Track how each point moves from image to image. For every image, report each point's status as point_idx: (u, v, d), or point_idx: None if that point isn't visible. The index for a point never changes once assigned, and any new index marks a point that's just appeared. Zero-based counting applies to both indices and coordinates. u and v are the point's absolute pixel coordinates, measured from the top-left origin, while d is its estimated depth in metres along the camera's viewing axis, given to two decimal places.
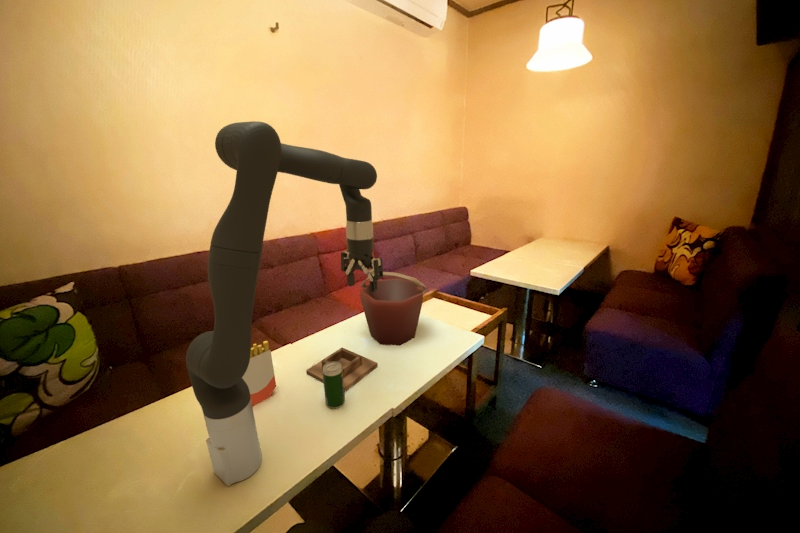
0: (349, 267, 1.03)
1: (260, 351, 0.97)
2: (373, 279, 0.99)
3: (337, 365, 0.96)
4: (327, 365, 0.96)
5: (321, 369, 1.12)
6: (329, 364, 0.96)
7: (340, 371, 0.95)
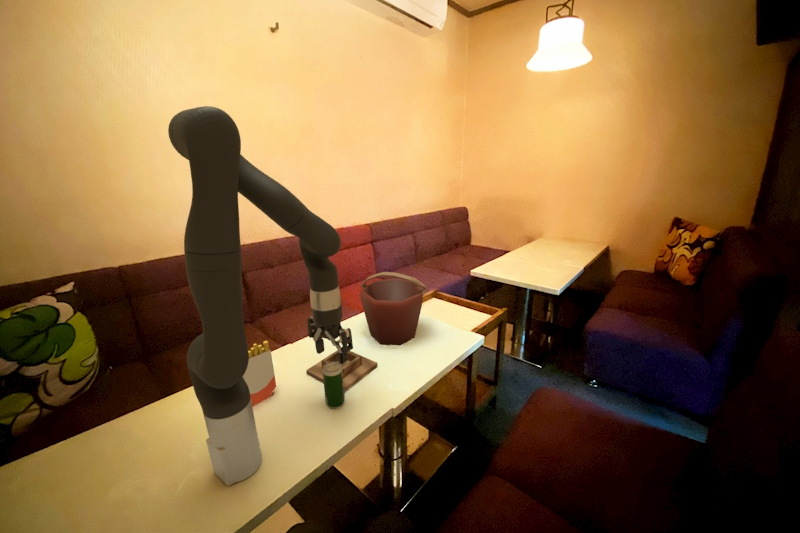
0: (316, 335, 0.93)
1: (260, 351, 0.97)
2: (342, 351, 0.89)
3: (337, 365, 0.96)
4: (327, 365, 0.96)
5: (321, 369, 1.12)
6: (329, 364, 0.96)
7: (340, 371, 0.95)
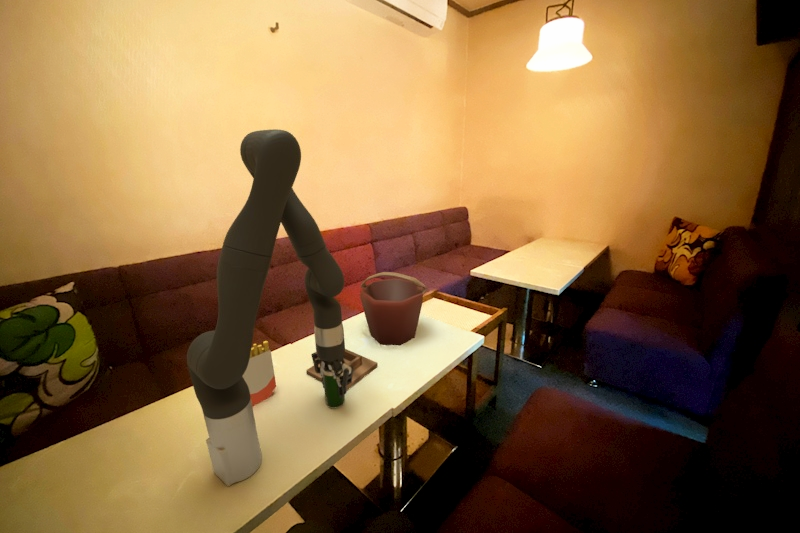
0: (321, 370, 0.96)
1: (260, 351, 0.97)
2: (341, 385, 0.94)
3: None
4: None
5: None
6: None
7: (340, 371, 0.95)
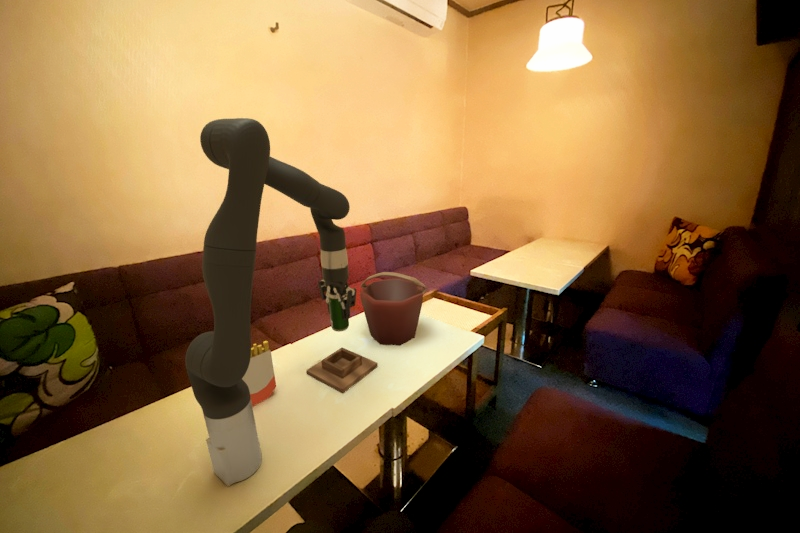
0: (327, 295, 1.04)
1: (260, 351, 0.97)
2: (345, 307, 1.02)
3: None
4: None
5: (321, 369, 1.12)
6: None
7: (344, 295, 1.03)
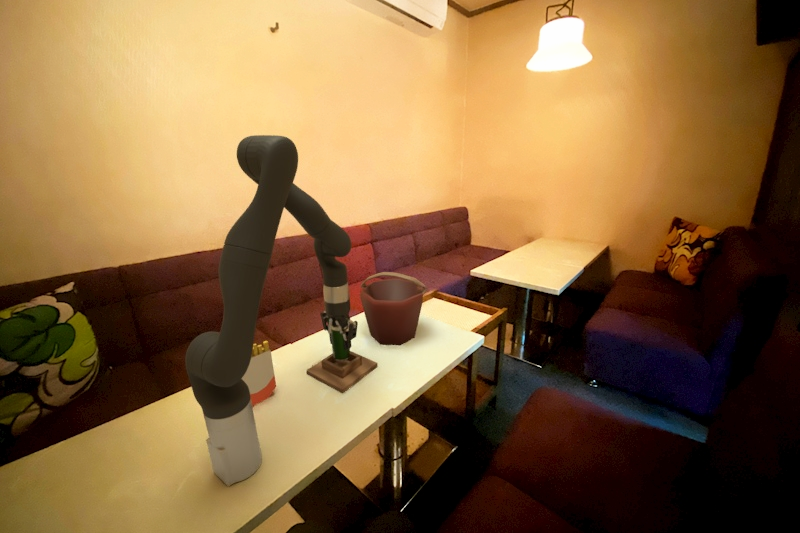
0: (329, 326, 1.08)
1: (260, 351, 0.97)
2: (347, 339, 1.06)
3: None
4: None
5: (321, 369, 1.12)
6: None
7: (346, 327, 1.07)
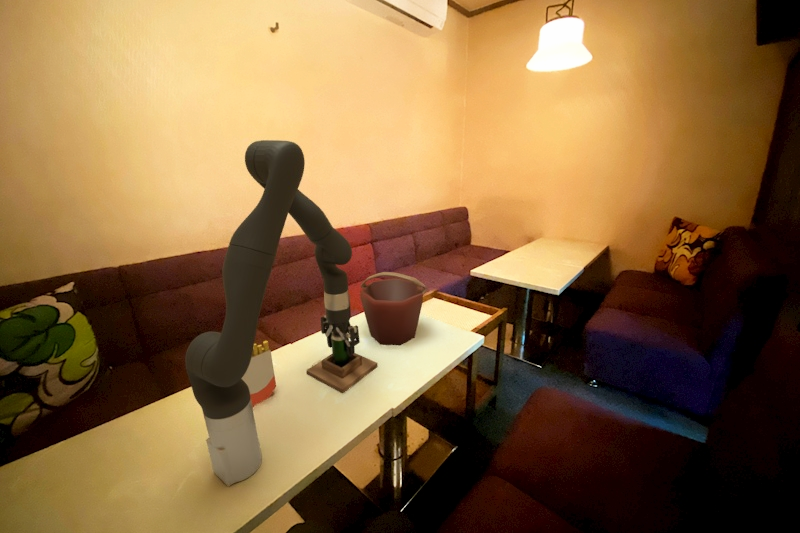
0: (328, 331, 1.09)
1: (260, 351, 0.97)
2: (350, 345, 1.06)
3: None
4: None
5: (321, 369, 1.12)
6: None
7: None
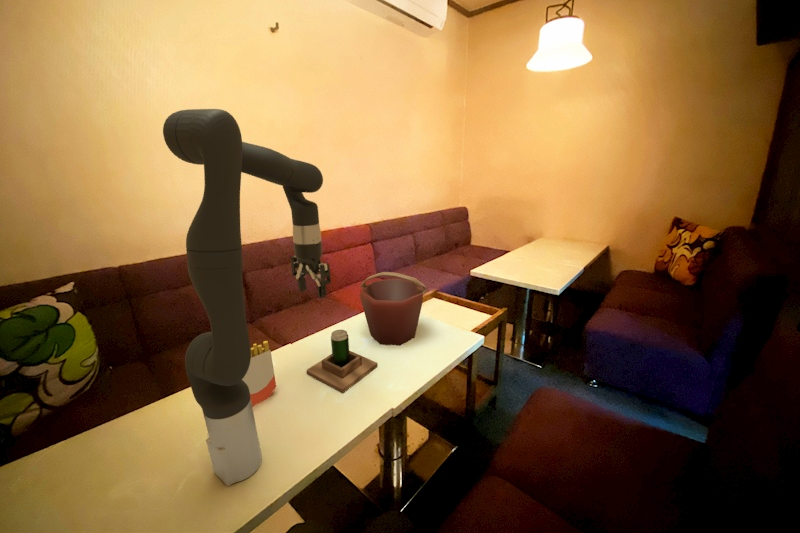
0: (298, 272, 1.01)
1: (260, 351, 0.97)
2: (320, 284, 0.97)
3: (343, 332, 1.10)
4: (335, 332, 1.10)
5: (321, 369, 1.12)
6: (336, 331, 1.10)
7: (346, 337, 1.08)
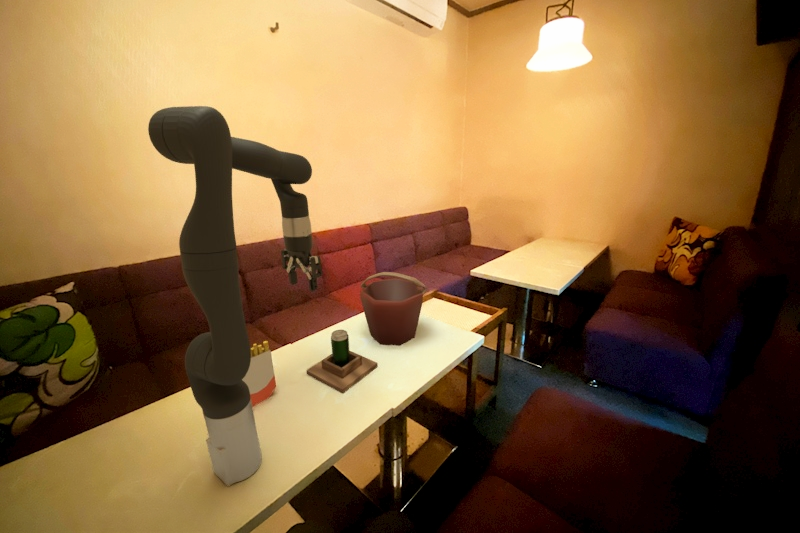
0: (289, 265, 1.00)
1: (260, 351, 0.97)
2: (311, 277, 0.96)
3: (344, 332, 1.10)
4: (335, 332, 1.10)
5: (321, 369, 1.12)
6: (337, 331, 1.10)
7: (346, 337, 1.08)
